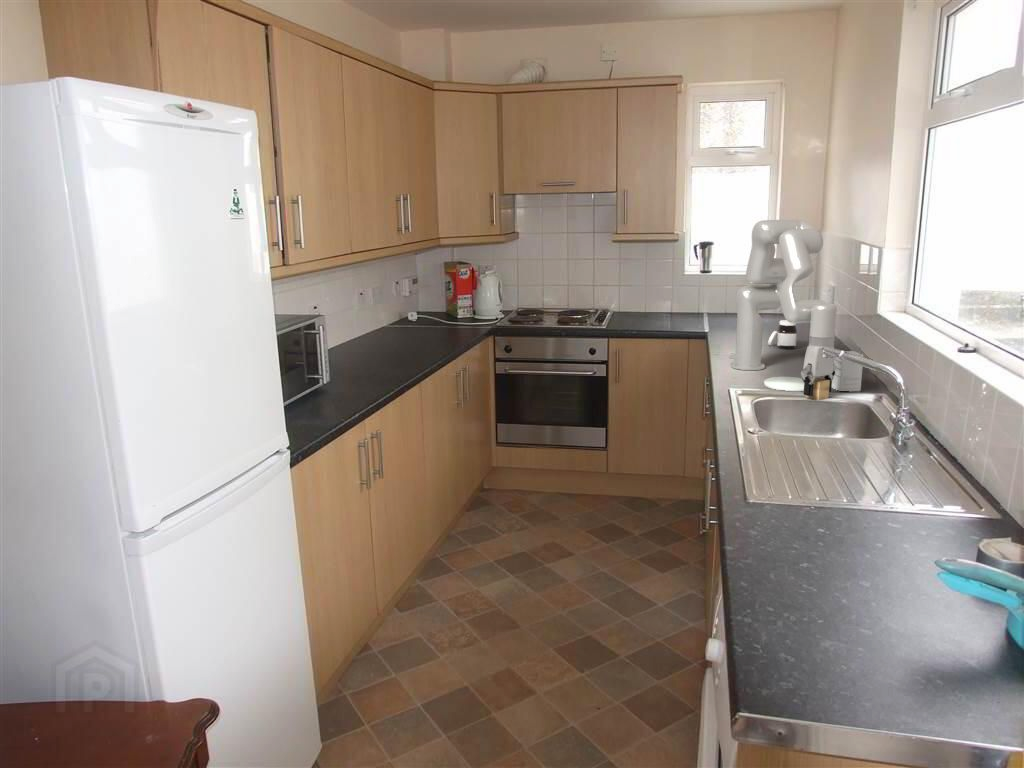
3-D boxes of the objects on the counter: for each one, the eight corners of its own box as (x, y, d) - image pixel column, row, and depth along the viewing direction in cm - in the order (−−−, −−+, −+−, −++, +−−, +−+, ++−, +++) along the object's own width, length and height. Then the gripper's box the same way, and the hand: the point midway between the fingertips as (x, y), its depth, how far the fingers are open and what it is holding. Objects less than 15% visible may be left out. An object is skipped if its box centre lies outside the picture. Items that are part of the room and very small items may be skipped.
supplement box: (850, 386, 265) (854, 350, 262) (860, 391, 258) (864, 354, 255) (829, 386, 265) (832, 351, 262) (839, 392, 258) (842, 355, 255)
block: (805, 397, 252) (806, 379, 251) (815, 394, 255) (816, 377, 253) (818, 400, 248) (820, 382, 247) (828, 398, 251) (829, 380, 249)
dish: (752, 384, 270) (753, 381, 269) (786, 377, 279) (787, 374, 279) (795, 394, 255) (795, 391, 254) (829, 387, 264) (830, 384, 264)
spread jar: (797, 350, 327) (799, 323, 324) (769, 349, 329) (771, 322, 327) (792, 345, 339) (794, 318, 336) (766, 344, 341) (767, 318, 338)
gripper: (828, 337, 254) (824, 387, 259) (794, 342, 246) (790, 394, 250) (848, 340, 248) (843, 392, 252) (814, 346, 239) (809, 399, 243)
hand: (817, 393), depth 251 cm, fingers open, 8 cm apart
